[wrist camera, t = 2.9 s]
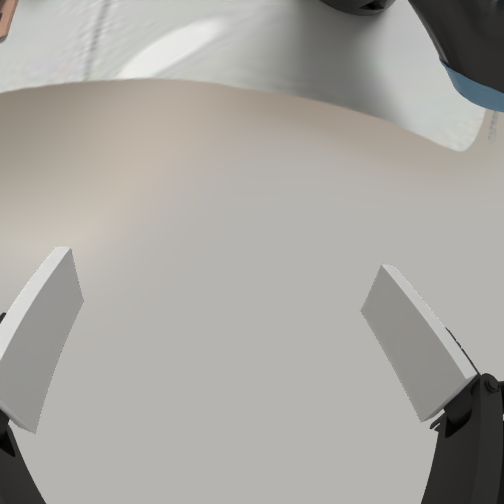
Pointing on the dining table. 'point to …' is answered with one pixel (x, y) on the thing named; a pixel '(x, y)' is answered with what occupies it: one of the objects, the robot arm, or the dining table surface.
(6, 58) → the dining table surface
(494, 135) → the dining table surface
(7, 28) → the domino board
